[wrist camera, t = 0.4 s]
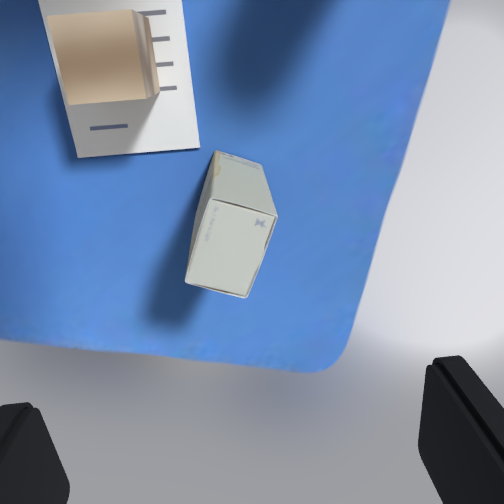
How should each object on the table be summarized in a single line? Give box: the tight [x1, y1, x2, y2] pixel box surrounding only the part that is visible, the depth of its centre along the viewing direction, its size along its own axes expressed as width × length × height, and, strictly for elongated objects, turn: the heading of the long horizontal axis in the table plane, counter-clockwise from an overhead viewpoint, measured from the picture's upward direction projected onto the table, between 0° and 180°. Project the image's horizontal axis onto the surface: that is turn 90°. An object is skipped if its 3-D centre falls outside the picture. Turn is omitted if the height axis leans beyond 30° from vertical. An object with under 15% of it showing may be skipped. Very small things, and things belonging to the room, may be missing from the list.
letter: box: [38, 0, 200, 158], centre depth 31 cm, size 14×10×1 cm
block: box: [47, 9, 160, 105], centre depth 28 cm, size 5×5×6 cm
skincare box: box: [185, 151, 278, 298], centre depth 31 cm, size 6×4×12 cm
